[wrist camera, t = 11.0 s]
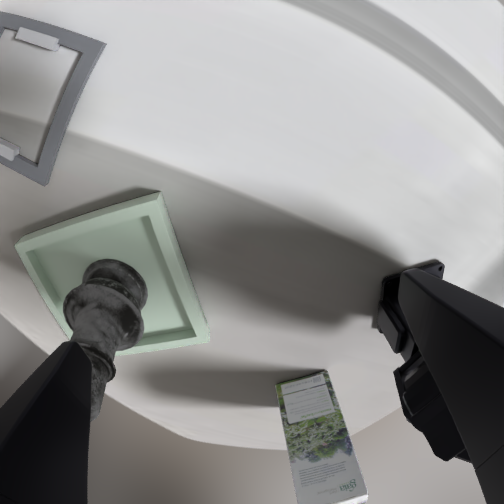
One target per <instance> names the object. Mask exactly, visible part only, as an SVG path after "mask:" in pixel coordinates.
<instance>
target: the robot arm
mask: <svg viewBox="0 0 504 504" xmlns="http://www.w3.org/2000/svg"><path fill="white" fill-rule="evenodd" d="M444 267H445V266H444V264H443V263H442V262H436V263H433V264H430V265H427V266H423V267H420V268H413V269H409V270H406V271H403V272H402V273H399V274H396V275H392V276H389V277H386V278H385V279H384V280H383V282H382V292H381V300H380V302H379V309H378V319H377V323H378V331H379V332H380V333H383V334H384V335H385V337H386V339H387V341H388V342H389V344H390V346H391V348H392V350H393V351H394V352H395V353H396V354H397V353H401V355H402V357H403V359H404V360H405V363H404V364H403V365H402V366H401V367H400V368H399V367H398V368H397V369H396V370H395V371H393V373H394V377H395V382H396V386H397V389H398V393H399V397H400V401H401V405H402V409H403V413H404V415H405V417H406V419H407V421H408V422H410V423H411V424H412V425H413V426H414V427H415V428H416V429H418V430H419V431H421V432H423V434H424V435H425V437H426V439H427V440H428V442H429V444H430V446H431V448H432V450H433V452H434V454H435V455H436V456H437V457H439V458H441V459H442V460H444V461H449V460H450V459H452V458H453V457H455V458H458V459H461V460H464V461H466V462H469V463H472V464H473V467H474V469H475V472H476V475H477V477H478V480H479V483H480V486H481V489H482V492H483V494H484V497H485V500H486V503H487V504H504V308H503V307H501V306H499V305H497V304H495V303H493V302H490V301H488V300H486V299H484V298H482V297H480V296H478V295H475V294H473V293H471V292H469V291H467V290H464V289H462V288H460V287H458V286H456V285H453V284H451V283H449V282H447V281H444V280H442V278H443V273H444ZM388 282H389V283H388ZM387 283H388V284H387ZM91 387H92V363H91V360H90V358H89V357H88V356H87V354H86V353H85V352H84V350H83V349H82V347H81V346H80V345H79V343H78V342H76V341H66V342H63V343H62V344H61V345H60V346H59V347H58V348H57V349H56V350H55V351H54V352H53V353H52V354H51V355H50V356H49V357H48V358H47V359H46V360H45V361H44V362H43V363H42V364H41V365H40V366H39V367H38V368H37V369H36V370H35V371H34V372H33V374H32V375H31V376H30V377H29V378H28V379H27V380H26V381H25V382H24V383H23V384H22V385H21V386H20V387H19V388H18V389H17V390H16V392H15V393H14V394H13V395H12V396H11V397H10V398H9V399H8V400H7V401H6V403H5V404H4V405H3V406H2V407H1V408H0V504H87V503H88V501H87V476H88V472H87V471H88V449H89V433H90V421H91Z"/></svg>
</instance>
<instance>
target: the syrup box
mask: <svg viewBox="0 0 504 504" xmlns="http://www.w3.org/2000/svg"><path fill="white" fill-rule="evenodd" d="M275 388H276V393H277V398H278V404H279V409H280V414H281V419H282V424H283V429H284V434H285V440H286V445H287V450H288V455H289V460H290V466H291V471H292V476H293V481H294V487H295V492H296V497H297V502H298V504H365V503H366V501H367V498H368V490H367V487H366V483H365V481H364V477H363V474H362V471H361V468H360V466H359V462H358V459H357V456H356V453H355V450H354V447H353V444H352V441H351V437H350V434H349V431H348V428H347V425H346V422H345V420H344V417H343V414H342V411H341V408H340V405H339V402H338V399H337V396H336V393H335V391H334V388H333V385H332V382H331V379H330V376H329V373H328V371H323V372H320V373H316V374H313V375H309V376H306V377H302V378H298V379H295V380H291V381H287V382H283V383H279V384H276V385H275Z"/></svg>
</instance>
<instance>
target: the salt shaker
mask: <svg viewBox="0 0 504 504" xmlns="http://www.w3.org/2000/svg"><path fill="white" fill-rule="evenodd" d="M147 298H148V289H147V286H146V283H145V281H144V279H143V278H142V276H141V275H140V274H139V273H138V272H137V271H136V270H135V269H134V268H133V267H131V266H129V265H128V264H126V263H124V262H121V261H118V260H114V259H102V260H98V261H96V262H94V263H92V264H90V265H89V266H88V267H87V268H86V270H85V272H84V274H83V278H82V284H81V285H79V286H78V287H76V288H74V289H72V290H71V291H70V292H69V293H68V294H67V295H66V297H65V300H64V302H63V314H64V317H65V320H66V322H67V324H68V326H69V327H70V329H71V330H72V331H73V335H72V337H71V339H70V341H76V342H78V343H79V345H80V346H81V347H82V349H83V350H84V352H85V353H86V354H87V356H88V357H89V358H90V360H91V363H92V387H91V421H92V420H94V419H96V418H97V416H98V415H99V413H100V409H101V404H102V400H103V396H104V391H105V387H106V383H107V382H109V381H111V380H112V379H113V378H114V377H115V373H116V369H115V365H114V364H113V361H114V357H115V353H116V351H123V350H126V349H130V348H132V347H133V346H135V345H136V344H138V342H139V341H140V340H141V338H142V336H143V332H144V321H143V318H142V316H141V310H142V309H143V307H144V306H145V304H146V301H147ZM91 421H90V422H91Z"/></svg>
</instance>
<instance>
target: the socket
mask: <svg viewBox="0 0 504 504" xmlns="http://www.w3.org/2000/svg"><path fill="white" fill-rule="evenodd" d="M5 27H6V28H10V29H13V30H17V31H18V33H17V35H16V37H15V38H16V39H19V40H23V41H26V42H29V43H32V44H35V45H38V46H41V47H44V48H47V49H49V50H54V51H57V50H58V48H59V46H60V44H61V45H63V46H66V47H69V48H72V49H74V50H77V51H80V52H82V53H83V54H82V56H81V58H80V60H79V62H78V64H77V66H76V68H75V70H74V72H73V74H72V76H71V78H70V81H69V83H68V85H67V87H66V89H65V92H64V94H63V96H62V99H61V101H60V104H59V106H58V109H57V111H56V114H55V116H54V119H53V122H52V124H51V127H50V130H49V133H48V135H47V138H46V141H45V144H44V147H43V151H42V154H41V157H40V160H39V164H37V163H35V162H33V161H31V160H29V159H27V158H25V157H23V156H21V155H19V150H20V147H18V146H16V145H14V144H12V143H10V142H8V141H6V140H4V139H2V138H0V163H1V164H3V165H5V166H7V167H9V168H11V169H12V170H14V171H16V172H18V173H20V174H22V175H24V176H26V177H27V178H29V179H31V180H33V181H35V182H37V183H39V184H41V185H43V186H46V185H47V184H48V182H49V179H50V175H51V172H52V169H53V166H54V162H55V159H56V156H57V153H58V151H59V148H60V145H61V142H62V139H63V137H64V134H65V131H66V129H67V126H68V124H69V121H70V119H71V116H72V114H73V111H74V109H75V107H76V104H77V102H78V100H79V98H80V95H81V93H82V91H83V89H84V87H85V85H86V82H87V80H88V78H89V76H90V74H91V72H92V70H93V68H94V66H95V65H96V63H97V61H98V59H99V57H100V55H101V53H102V51H103V50H104V48H105V46H106V43H103V42H100V41H98V40H95V39H92V38H90V37H87V36H84V35H81V34H78V33H75V32H72V31H70V30H66V29H63V28H60V27H57V26H54V25H51V24H47V23H44V22H41V21H37V20H33V19H30V18H26V17H22V16H18V15H14V14H10V13H5V12H0V37H1V35H2V33H3V31H4V29H5Z"/></svg>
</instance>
